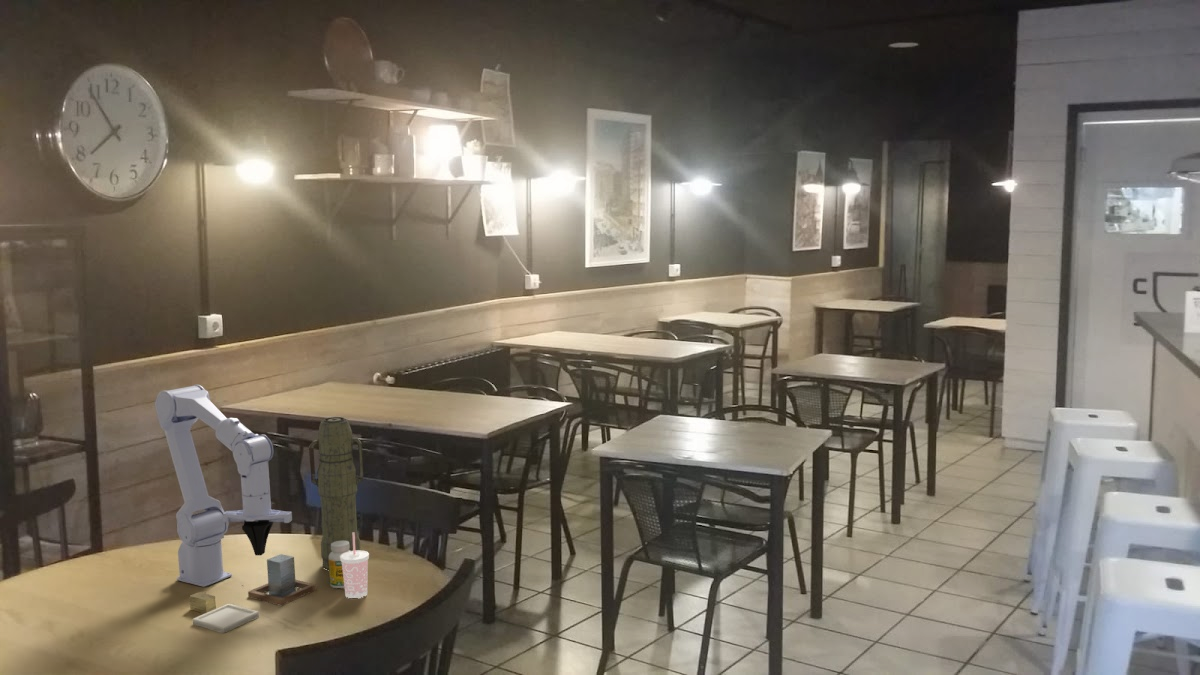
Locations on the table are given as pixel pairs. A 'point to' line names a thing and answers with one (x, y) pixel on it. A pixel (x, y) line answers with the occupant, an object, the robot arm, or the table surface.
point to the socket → (306, 589)
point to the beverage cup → (355, 572)
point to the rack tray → (225, 618)
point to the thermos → (336, 483)
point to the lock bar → (202, 602)
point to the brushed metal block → (281, 575)
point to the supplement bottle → (337, 563)
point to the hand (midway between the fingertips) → (259, 553)
